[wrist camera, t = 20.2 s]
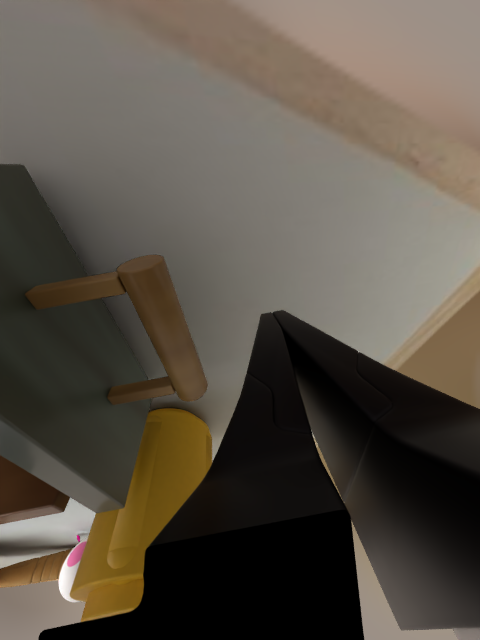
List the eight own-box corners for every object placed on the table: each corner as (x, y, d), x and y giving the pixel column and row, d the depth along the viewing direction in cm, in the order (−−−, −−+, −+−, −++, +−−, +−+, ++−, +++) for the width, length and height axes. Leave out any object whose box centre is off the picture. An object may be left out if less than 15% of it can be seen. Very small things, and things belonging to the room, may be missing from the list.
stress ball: (125, 511, 35) (142, 558, 31) (63, 558, 30) (75, 620, 27) (117, 494, 31) (136, 547, 27) (44, 546, 26) (54, 619, 22)
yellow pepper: (142, 454, 20) (92, 666, 11) (106, 409, 16) (-11, 683, 7) (218, 441, 20) (225, 639, 12) (202, 393, 16) (194, 642, 8)
